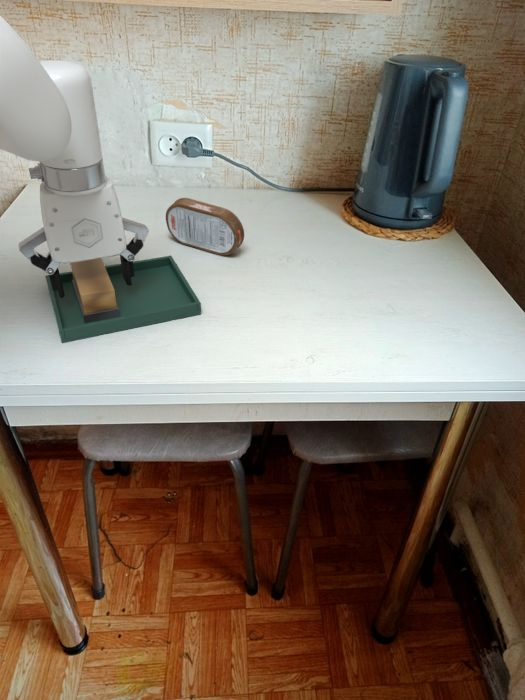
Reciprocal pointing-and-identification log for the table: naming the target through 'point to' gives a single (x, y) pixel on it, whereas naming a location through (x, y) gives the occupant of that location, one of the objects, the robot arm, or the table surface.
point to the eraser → (94, 291)
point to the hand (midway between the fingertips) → (95, 286)
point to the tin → (204, 226)
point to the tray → (129, 300)
